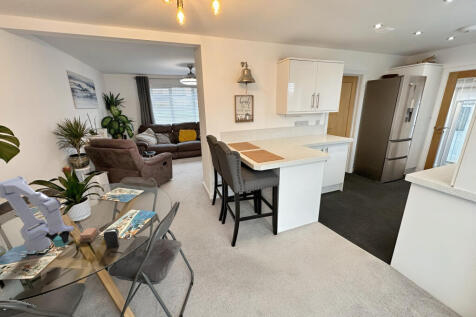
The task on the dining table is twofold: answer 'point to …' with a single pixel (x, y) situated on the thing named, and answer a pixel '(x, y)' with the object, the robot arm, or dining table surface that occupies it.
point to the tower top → (88, 233)
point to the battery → (111, 238)
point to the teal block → (59, 242)
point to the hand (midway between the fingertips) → (61, 242)
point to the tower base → (89, 238)
